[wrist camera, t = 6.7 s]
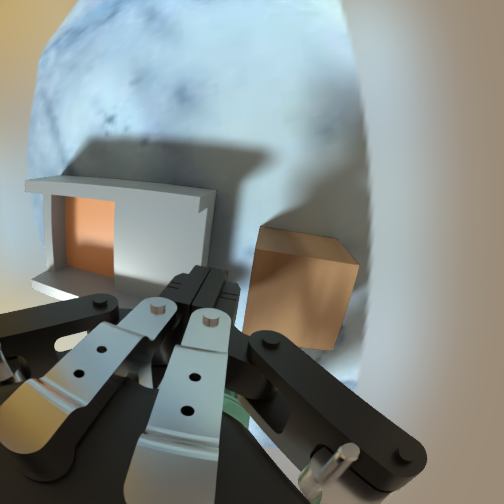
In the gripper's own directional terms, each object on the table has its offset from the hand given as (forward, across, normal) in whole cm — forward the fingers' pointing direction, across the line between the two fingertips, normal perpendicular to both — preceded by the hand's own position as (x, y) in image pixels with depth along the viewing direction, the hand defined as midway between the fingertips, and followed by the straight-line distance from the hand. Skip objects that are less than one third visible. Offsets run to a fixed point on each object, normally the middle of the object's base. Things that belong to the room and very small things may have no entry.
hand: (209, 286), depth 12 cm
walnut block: (+3, -2, +1) cm, 4 cm away
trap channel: (+6, +7, 0) cm, 9 cm away
